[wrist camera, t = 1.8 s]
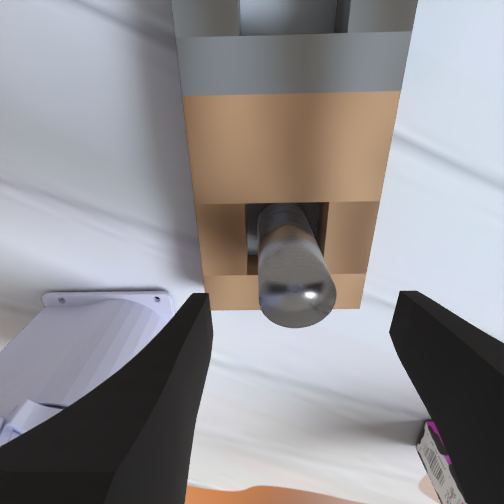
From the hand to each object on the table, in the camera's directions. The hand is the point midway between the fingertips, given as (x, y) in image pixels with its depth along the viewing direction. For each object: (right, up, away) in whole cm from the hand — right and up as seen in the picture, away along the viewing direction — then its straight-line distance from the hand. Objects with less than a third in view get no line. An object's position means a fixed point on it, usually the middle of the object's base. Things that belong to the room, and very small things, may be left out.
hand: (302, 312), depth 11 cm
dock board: (0, +9, +5) cm, 11 cm away
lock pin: (0, +4, +8) cm, 9 cm away
